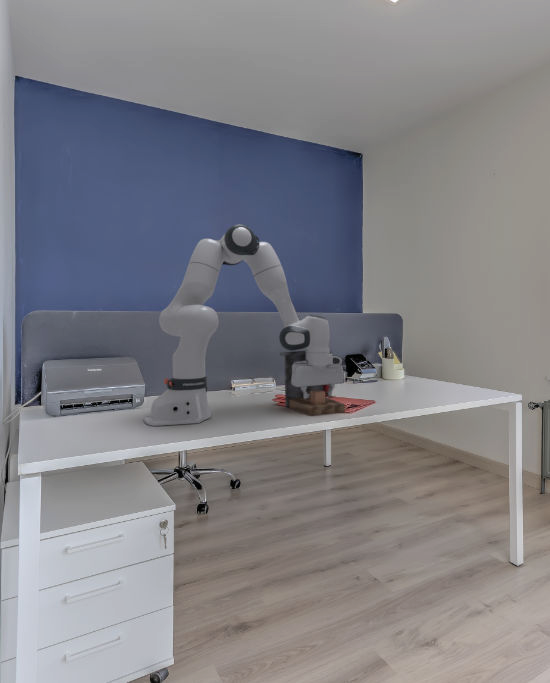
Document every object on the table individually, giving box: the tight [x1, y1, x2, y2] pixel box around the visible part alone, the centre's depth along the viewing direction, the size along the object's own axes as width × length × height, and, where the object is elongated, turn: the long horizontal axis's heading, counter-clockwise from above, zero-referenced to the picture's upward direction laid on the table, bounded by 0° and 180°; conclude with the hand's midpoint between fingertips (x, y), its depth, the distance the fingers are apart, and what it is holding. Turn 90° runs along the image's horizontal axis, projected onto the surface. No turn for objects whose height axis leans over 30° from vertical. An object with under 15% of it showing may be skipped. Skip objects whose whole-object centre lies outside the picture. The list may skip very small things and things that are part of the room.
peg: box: [310, 390, 325, 404], centre depth 170 cm, size 4×4×7 cm
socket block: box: [279, 350, 346, 417], centre depth 171 cm, size 20×18×21 cm
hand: (317, 397), depth 170 cm, fingers open, 8 cm apart
